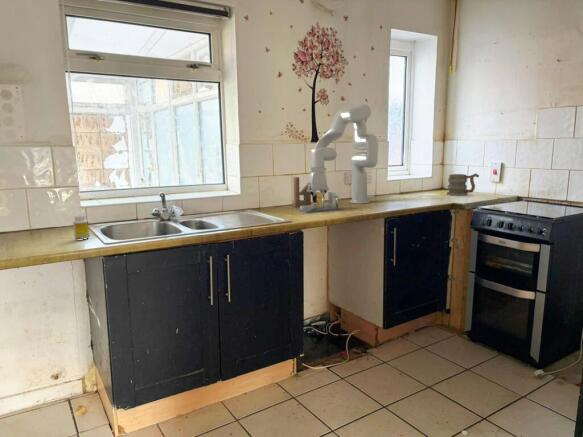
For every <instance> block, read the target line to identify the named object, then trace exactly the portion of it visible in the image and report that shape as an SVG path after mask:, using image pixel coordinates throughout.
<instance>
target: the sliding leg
mask: <svg viewBox="0 0 583 437" xmlns="http://www.w3.org/2000/svg"><path fill="white" fill-rule="evenodd" d="M315 196H316V203H313V202H312V205H316V208H320V207H322V208H324V204H325V200H326V197H325V196H324V197H323V193H322V192H320V191H316V194H315Z"/></svg>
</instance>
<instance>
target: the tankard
mask: <svg viewBox="0 0 583 437" xmlns="http://www.w3.org/2000/svg"><path fill="white" fill-rule="evenodd" d="M448 177H449V178H447V181H448V186H447V189H448V191H447V192H446V195H447V196H451V197H452V196H453V197H463V196H464V197H465V196H468V193H473V192H474V191H475V189H476V184H475V182H474V178H479V177H480V175H479V174H478V173H474V174H471V175H467V174H464V173H461V174H459V173H458V174H457V173H454V174H449V175H448ZM468 179H469V181H470V186H471V187H470V189H467V187H468V186H467V182H468Z"/></svg>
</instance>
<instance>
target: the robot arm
mask: <svg viewBox="0 0 583 437" xmlns="http://www.w3.org/2000/svg"><path fill="white" fill-rule="evenodd" d="M371 114H372V110H371V107H370V106H369V105H367V104H357V105H356V104H354V105H349V106H347V107H345V108H343V109H339V110H337V112H336V113H335V115H334V118H333V120H332V122H331V124H330V127H329V129H328V130H327V132H325V133H324V134H323V135H322V136H321V137H320V138H319V139H318V141H317V142H316V145H315V146H314V148H311V150H310V172H309V176H308V182H307V183H308V189H307V192H309V193H310V195H311V202H312V204H313V203H316V196H315V194H316V192H318V191H319V192H322V193H323V197H325V195H326V193H328V192H329V191H330V187H329V186H328V180H327V174H326V172H325V171H327V167H325V162H332V161H334V160H336V158H337V157H338V153H337V150H336V149H335V148H334V147H328V146H329V145H330V144H331V143H333V142H335V141H337V140H340V139H341V138H343V135H344V133H345V130H346V128H347V126H348V124H351V127H352V147H353V148H354V149H355V150H357V151H358V152H357V151H355V152H354V153H352V154H351V155H350V159H349V162H350V168H351V199H350V200H349V203H350V204H368V203H370V200H371V199H374V195H369V194H368V172H367V170H366V168H367V169H368V168H369V169H371V168H375V167H376V166H377V164H378V159H379V158H378V156H379V155H378V154H379V153H378V152H379V142H378V137H377V136H376V135H375V134H373V133H367V131H368V129H367V124H366V120H368V119H369V118H370V117H371ZM310 190H311V191H310Z"/></svg>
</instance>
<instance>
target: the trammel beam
mask: <svg viewBox="0 0 583 437" xmlns="http://www.w3.org/2000/svg"><path fill="white" fill-rule="evenodd" d="M327 193H328V195H327V196H328V197H327V198H328V199H327V200H328V201H327V202H328V203H324V207H334V206H336V207H339V197H340V196H339V195H336V194H337V193H336V192H334V191H327ZM299 208H300V209H313V208H316V205H314V204H311V205H305V206H300V207H299ZM320 208H322V207H320Z"/></svg>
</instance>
